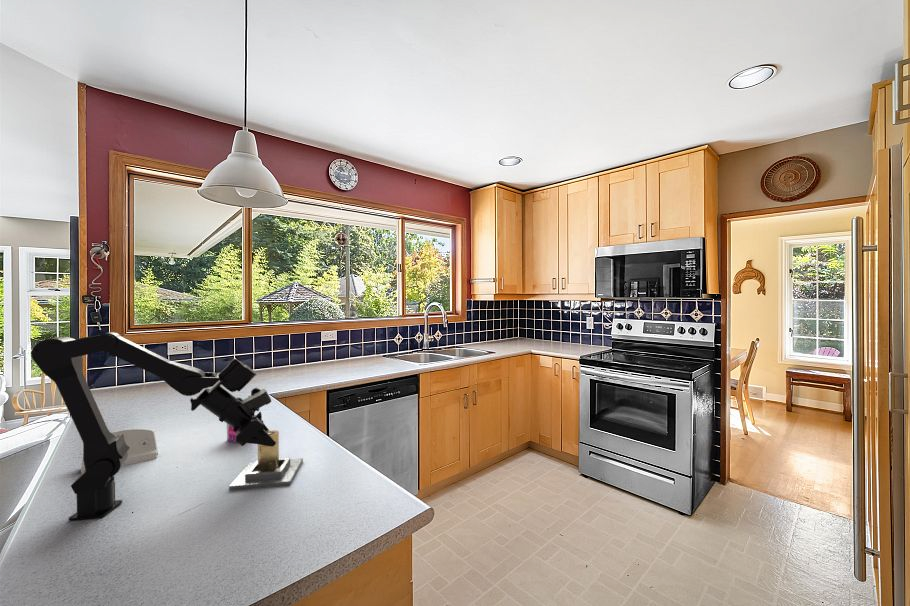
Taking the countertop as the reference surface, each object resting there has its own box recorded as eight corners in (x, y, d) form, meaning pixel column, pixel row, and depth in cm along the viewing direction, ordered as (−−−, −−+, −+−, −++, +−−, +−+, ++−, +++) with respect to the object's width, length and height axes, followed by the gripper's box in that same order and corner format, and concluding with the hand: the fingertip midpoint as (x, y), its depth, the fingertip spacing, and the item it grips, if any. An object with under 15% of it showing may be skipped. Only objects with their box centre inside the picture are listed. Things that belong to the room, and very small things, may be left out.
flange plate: (289, 485, 96) (289, 475, 96) (229, 490, 93) (228, 480, 93) (302, 461, 109) (302, 453, 109) (250, 465, 107) (250, 456, 107)
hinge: (79, 474, 103) (80, 436, 105) (82, 474, 106) (83, 437, 109) (158, 458, 113) (157, 423, 116) (158, 458, 117) (157, 425, 119)
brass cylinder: (268, 472, 98) (268, 437, 98) (253, 470, 100) (253, 435, 100) (283, 464, 103) (282, 431, 103) (268, 462, 104) (267, 429, 104)
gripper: (251, 387, 91) (301, 426, 97) (249, 374, 107) (292, 408, 113) (213, 426, 87) (267, 464, 93) (216, 406, 103) (262, 440, 109)
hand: (273, 441), depth 102 cm, fingers closed on brass cylinder, 5 cm apart
